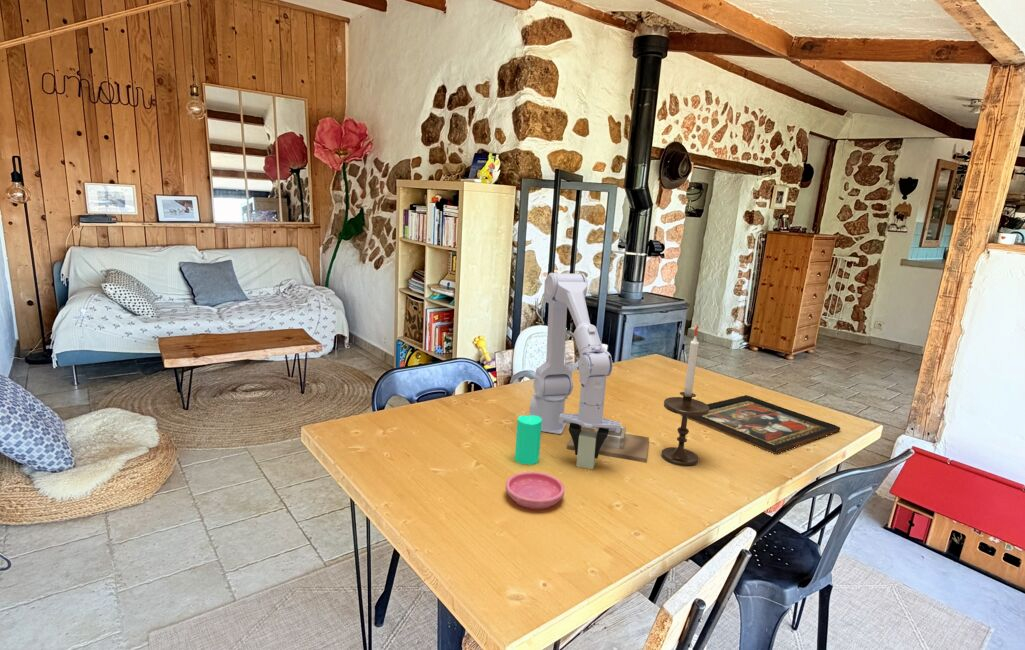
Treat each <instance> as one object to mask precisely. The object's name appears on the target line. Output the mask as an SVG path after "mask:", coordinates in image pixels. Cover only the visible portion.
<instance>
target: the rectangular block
mask: <svg viewBox="0 0 1025 650" xmlns="http://www.w3.org/2000/svg"><path fill="white" fill-rule="evenodd" d="M596 441H597V432H596V431H590V430H584V429H582V430H581V432H580V434H579V442H578V453H577V455H576V466H578V468H582V469H589V470H594V467H595V465H596V458H594V457H595V450H596Z"/></svg>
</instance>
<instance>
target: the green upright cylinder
mask: <svg viewBox="0 0 1025 650" xmlns="http://www.w3.org/2000/svg"><path fill="white" fill-rule="evenodd" d="M541 425H542V419H541V418H540V417H539V416H535V415H530V416H529V415H522V414H521V415H519V417H517V423H516V434H515V435H516V436H515V437H516V438H515V450H514V451H515V453H514V461H516V463H518V462H519V463H518V464H520V463H521V465H523V464H528V465H527V466H531V464H533V465H536V464H538V463H539V462H540V461H539V460H540V450H541V449H540V447H541V435H542V431H541ZM537 462H538V463H537ZM535 463H536V464H535Z"/></svg>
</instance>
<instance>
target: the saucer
mask: <svg viewBox="0 0 1025 650" xmlns="http://www.w3.org/2000/svg"><path fill="white" fill-rule="evenodd" d="M505 482H506V483H505V490H506V493H507V494H508V496H509V498H511V499H512V500H513V502H516V503H515V504H517V505H518V504H519V505H518V506H520V507H522V508H525V507H526V508H525V509H528V508H529V509H528V510H544V509H545V508H546V509H550V508H551V506H552V507H553V506H554V505H556V504H558V502H560V500H562V499H563V498H564V495H565V485H564V484H563V482H562V481H561V480H560V479H559V478H557V477H556V476H553V475H552V474H548V473H545V472H541V471H523V472H517V473H515V474H513V475H511V476H509V477H508V478H507V480H506V481H505Z"/></svg>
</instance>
